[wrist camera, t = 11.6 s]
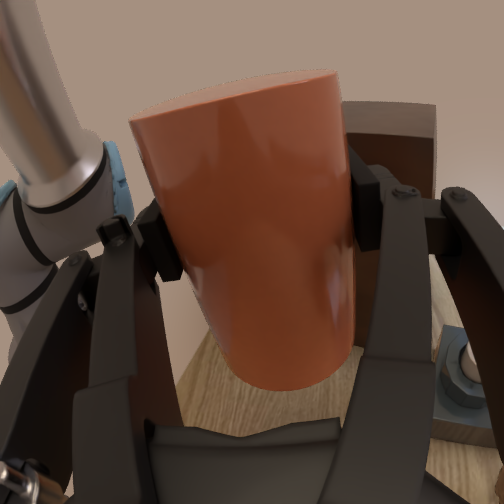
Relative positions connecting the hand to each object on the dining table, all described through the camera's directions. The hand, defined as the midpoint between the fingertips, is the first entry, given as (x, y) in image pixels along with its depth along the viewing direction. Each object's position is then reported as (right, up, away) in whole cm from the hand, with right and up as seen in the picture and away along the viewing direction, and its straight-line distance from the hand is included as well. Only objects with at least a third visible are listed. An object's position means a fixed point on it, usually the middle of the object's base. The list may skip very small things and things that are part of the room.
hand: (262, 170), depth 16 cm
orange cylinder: (+1, -8, 0) cm, 9 cm away
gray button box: (+21, -18, +5) cm, 28 cm away
